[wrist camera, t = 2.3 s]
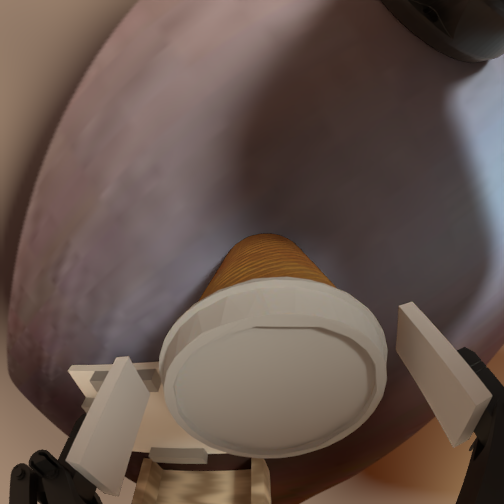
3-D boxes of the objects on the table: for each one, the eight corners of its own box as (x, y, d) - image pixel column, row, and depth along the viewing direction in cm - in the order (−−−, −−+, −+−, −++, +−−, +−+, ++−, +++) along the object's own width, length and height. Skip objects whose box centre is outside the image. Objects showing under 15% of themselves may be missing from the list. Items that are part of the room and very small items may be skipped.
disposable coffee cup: (226, 341, 23) (212, 471, 12) (179, 235, 20) (103, 338, 9) (340, 309, 22) (396, 430, 11) (312, 191, 19) (391, 256, 8)
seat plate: (199, 357, 24) (195, 376, 21) (240, 445, 29) (240, 462, 26) (71, 365, 25) (61, 379, 22) (132, 445, 30) (127, 459, 27)
